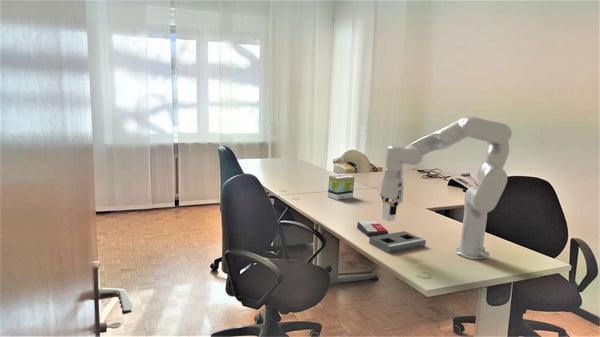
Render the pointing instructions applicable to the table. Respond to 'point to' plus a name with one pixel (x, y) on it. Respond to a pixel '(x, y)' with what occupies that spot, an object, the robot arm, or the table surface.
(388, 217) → the plug
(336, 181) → the tea box
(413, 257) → the table surface
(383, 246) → the port panel
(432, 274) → the table surface
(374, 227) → the calculator
